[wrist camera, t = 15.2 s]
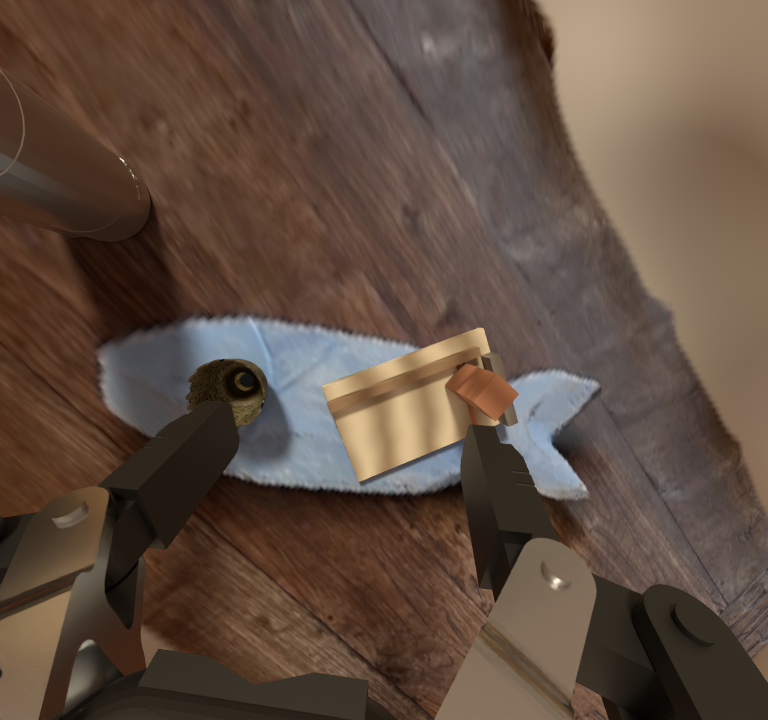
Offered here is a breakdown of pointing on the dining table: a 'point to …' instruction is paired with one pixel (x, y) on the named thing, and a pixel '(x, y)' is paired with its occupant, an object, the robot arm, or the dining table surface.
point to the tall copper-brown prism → (482, 390)
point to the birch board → (410, 404)
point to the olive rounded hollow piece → (229, 388)
